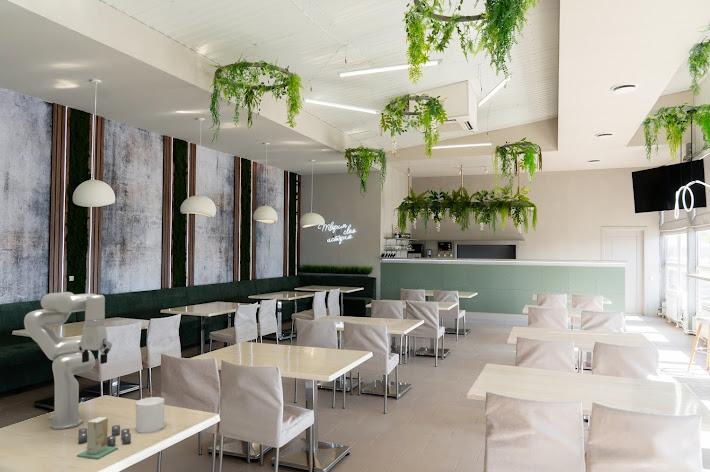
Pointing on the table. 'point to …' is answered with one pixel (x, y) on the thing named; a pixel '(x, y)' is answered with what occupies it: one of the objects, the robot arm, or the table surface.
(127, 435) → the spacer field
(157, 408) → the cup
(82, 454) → the coaster
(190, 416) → the table surface
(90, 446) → the skincare box
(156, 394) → the brown wooden carved piece
